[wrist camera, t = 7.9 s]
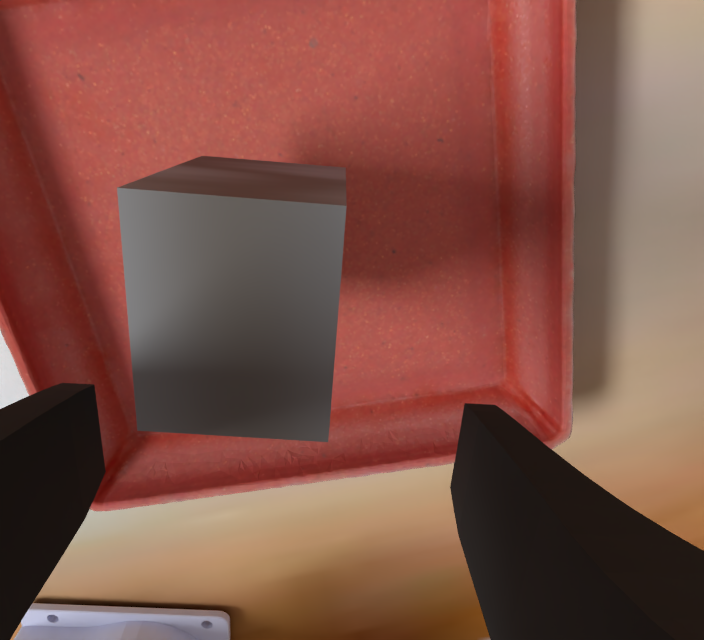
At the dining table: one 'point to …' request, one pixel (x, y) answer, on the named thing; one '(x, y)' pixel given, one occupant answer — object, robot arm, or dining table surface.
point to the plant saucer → (361, 212)
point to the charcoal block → (234, 296)
